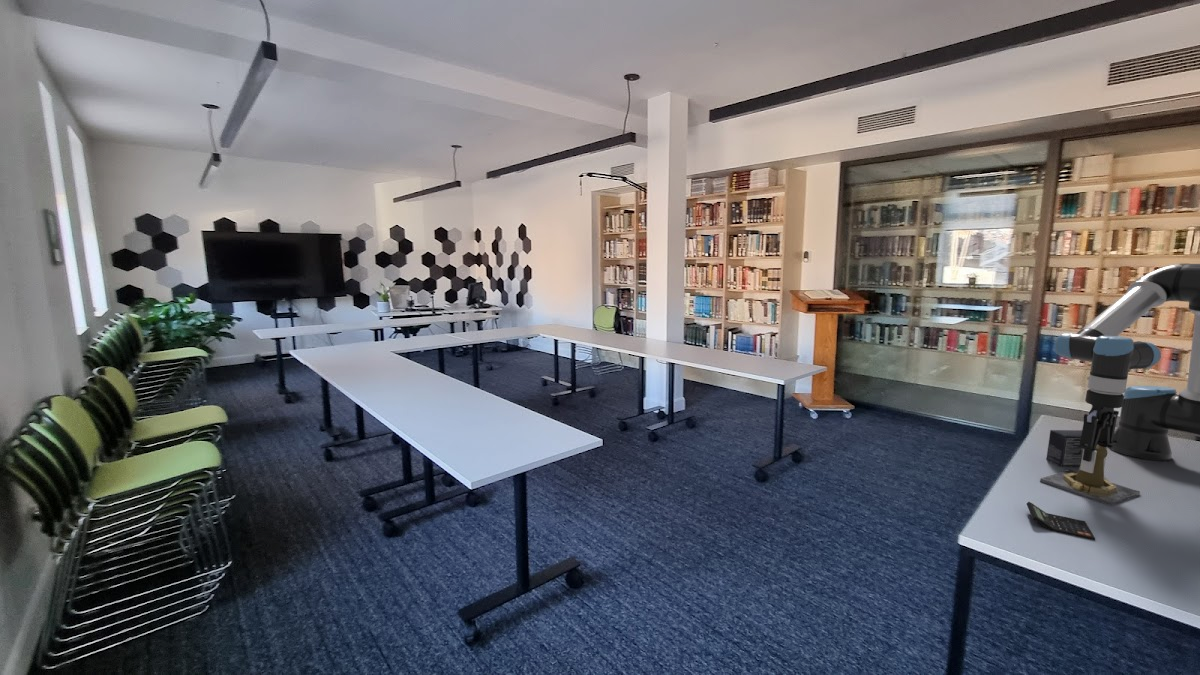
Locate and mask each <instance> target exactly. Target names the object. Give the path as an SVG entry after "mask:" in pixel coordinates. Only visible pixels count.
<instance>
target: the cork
mask: <svg viewBox="0 0 1200 675" xmlns="http://www.w3.org/2000/svg"><path fill="white" fill-rule="evenodd" d="M1082 451H1083V448H1082ZM1095 451H1097V454H1096V460H1095V465H1094V471H1093V473H1089V472H1086V471H1082V470H1080V467H1078V470H1077V472H1078V473H1077V475H1076V478H1075V479H1076V480H1077V481H1079V482H1081V483H1084V484H1087V485H1092V486H1104V478H1105V466H1104V458H1105V457H1106V458H1107V456H1108V453H1109V452H1108V449H1107V450H1106V448H1104V447H1102V446H1099V445H1097V446H1096V449H1095ZM1080 466H1081V464H1080Z"/></svg>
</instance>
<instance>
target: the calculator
mask: <svg viewBox="0 0 1200 675" xmlns="http://www.w3.org/2000/svg"><path fill="white" fill-rule="evenodd" d="M1026 506H1027V508H1028V511H1029V513H1030V516H1031V519H1032V520H1034V521H1035V522H1036V523H1038V524H1039V525H1041V526H1043V527H1044V528H1045V529H1047V530H1049V531H1051V532H1054V533H1060V534H1065V535H1067V536H1068V535H1069V536H1074V537H1076V538H1077V537H1078V538H1083V539H1086V540H1091V541H1096V537H1095V536H1094V534H1093V532H1092V530H1091V529H1090V527H1089V526H1088V524H1087V522H1086V521H1085V520H1081V519H1078V518H1077V519H1076V518H1074V517H1073V518H1072V517H1067V516H1063V515H1062V516H1061V515H1057V514H1053V513H1049V512H1048V513H1047V512H1046V511H1045V510H1042V509H1041V508H1039V506H1036V505H1035V504H1034V503H1032V502H1030V501H1028V502H1026Z"/></svg>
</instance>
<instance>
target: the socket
mask: <svg viewBox="0 0 1200 675" xmlns="http://www.w3.org/2000/svg"><path fill="white" fill-rule="evenodd" d="M1077 473H1078V471H1076V470H1072V469H1068V470H1064V471H1061V472H1057V473H1054V474H1050V475H1047V476H1044V477H1041V478H1040V483H1042V484H1043V483H1044V484H1045V485H1048V486H1052V487H1055V488H1057V489H1061V490H1064V491H1065V492H1069V493H1072V494H1076V495H1078V496H1080V497H1084V498H1087V499H1090V500H1092V501H1096V502H1098V503H1102V504H1103V505H1104V504H1105V505H1107V506H1110V507H1111V506H1113V505H1115V504H1119V503H1121V502H1124V501H1127V500H1129V499H1133V498H1135V497H1137V496H1140V493H1141V491H1139V490H1136V489H1134V488H1130V487H1127V486H1124V485H1119V484H1117V483H1113V482H1111V481H1110V480H1107V479H1106V477H1104V486H1092V485H1087V484H1084V483H1081V482H1079V481H1077V480H1076V479H1075V478H1076V475H1077Z"/></svg>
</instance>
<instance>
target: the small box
mask: <svg viewBox="0 0 1200 675" xmlns="http://www.w3.org/2000/svg"><path fill="white" fill-rule="evenodd" d="M1081 435H1082V430H1081V429H1080V430H1079V429H1078V430H1075V429H1072V430H1068V429H1058V430H1057V429H1050V431H1049V438H1048V445H1047V451H1046V458H1045V460H1046V461H1048V462H1051V463H1052V464H1055V465H1056V466H1058V467H1060V468H1079V467H1080V464H1081V460H1082V454H1083V451H1082V448H1080V447H1079V445H1080V440H1081Z"/></svg>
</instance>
